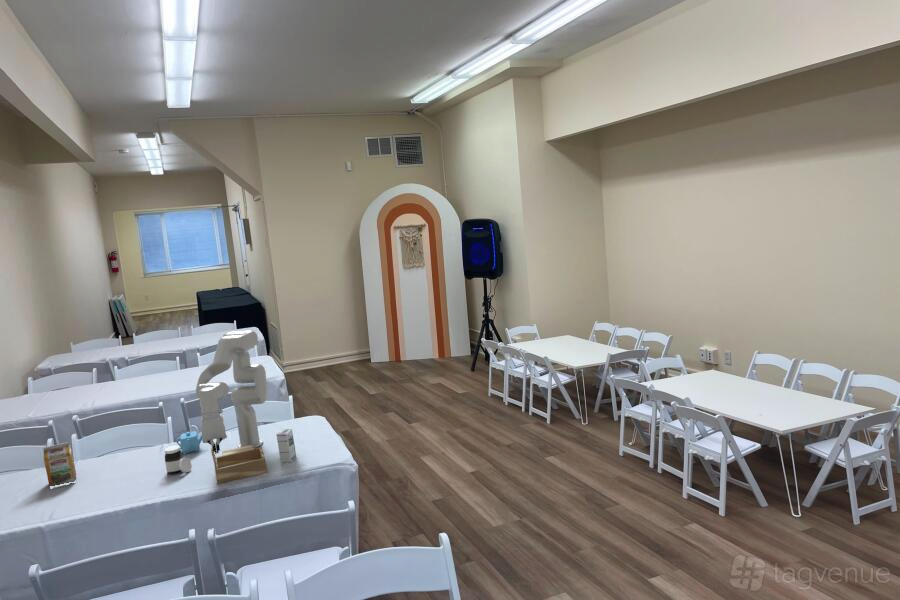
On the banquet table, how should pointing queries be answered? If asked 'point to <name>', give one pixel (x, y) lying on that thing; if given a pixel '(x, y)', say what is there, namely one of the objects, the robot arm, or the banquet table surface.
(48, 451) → the yellow food package
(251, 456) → the wooden square tray
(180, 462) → the spread jar
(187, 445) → the teapot
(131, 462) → the banquet table surface
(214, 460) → the flap
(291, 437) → the syrup box
